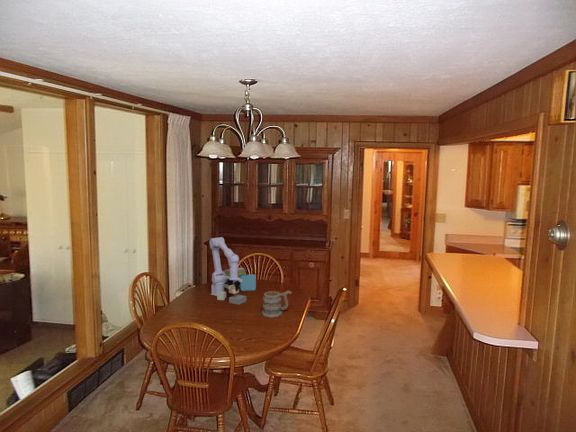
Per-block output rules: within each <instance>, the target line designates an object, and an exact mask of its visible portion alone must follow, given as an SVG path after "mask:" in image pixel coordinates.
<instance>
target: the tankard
mask: <svg viewBox="0 0 576 432" xmlns="http://www.w3.org/2000/svg"><path fill="white" fill-rule="evenodd" d="M292 293H293V292H292V291H290V290H287V291H284V292H279V291H275V290H274V291H272V290H271V291H266V292H264V293H263V297H262V301H263V304H262V307H263V310H262V311H261V314H262V315H263V317H267V318H278V317H280V316H281V315H282V314H283V311H284V310H287V309H288V306H289V300H288V297H287V295H292ZM282 297H283V301H284V306H282V304H281V301H282Z"/></svg>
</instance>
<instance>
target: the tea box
mask: <svg viewBox="0 0 576 432" xmlns="http://www.w3.org/2000/svg"><path fill="white" fill-rule="evenodd" d="M223 271H224V272H225V275H226V276H230V268H228V269H223ZM241 275H246V268H243V267H241V266H240V267H239V266H238V278H240V276H241ZM227 280H228V279H226V282H225V283H224V289H228V290H229V285H228V283H227ZM234 282H236V281H234V280H233V284H234ZM234 285H235V284H234ZM239 288H240V286H239Z"/></svg>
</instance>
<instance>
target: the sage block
mask: <svg viewBox="0 0 576 432" xmlns="http://www.w3.org/2000/svg"><path fill="white" fill-rule="evenodd" d="M226 293H227V291H225V290H224V291H219V292H218V293H217V296H216V298H217V299H216V300H218V301H225V298H226V299H227V294H226Z"/></svg>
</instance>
